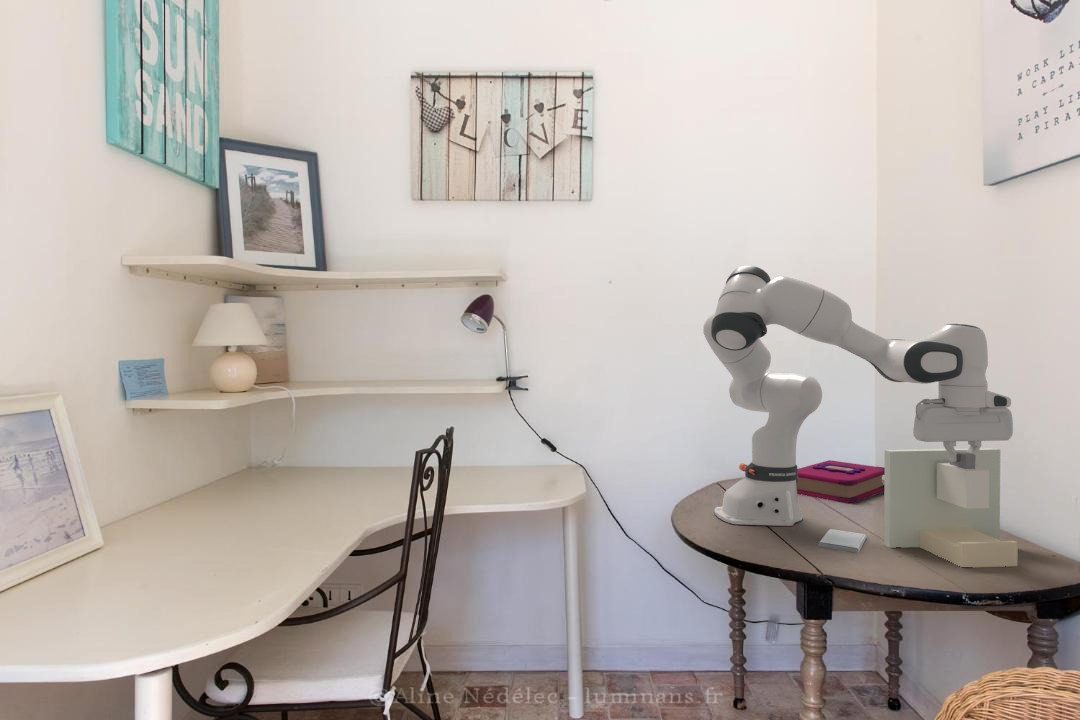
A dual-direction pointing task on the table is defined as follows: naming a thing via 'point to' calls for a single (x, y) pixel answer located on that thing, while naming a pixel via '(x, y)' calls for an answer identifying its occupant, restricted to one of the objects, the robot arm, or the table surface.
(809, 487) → the book
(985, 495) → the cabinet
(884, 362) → the robot arm
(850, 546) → the hard drive
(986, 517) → the board
